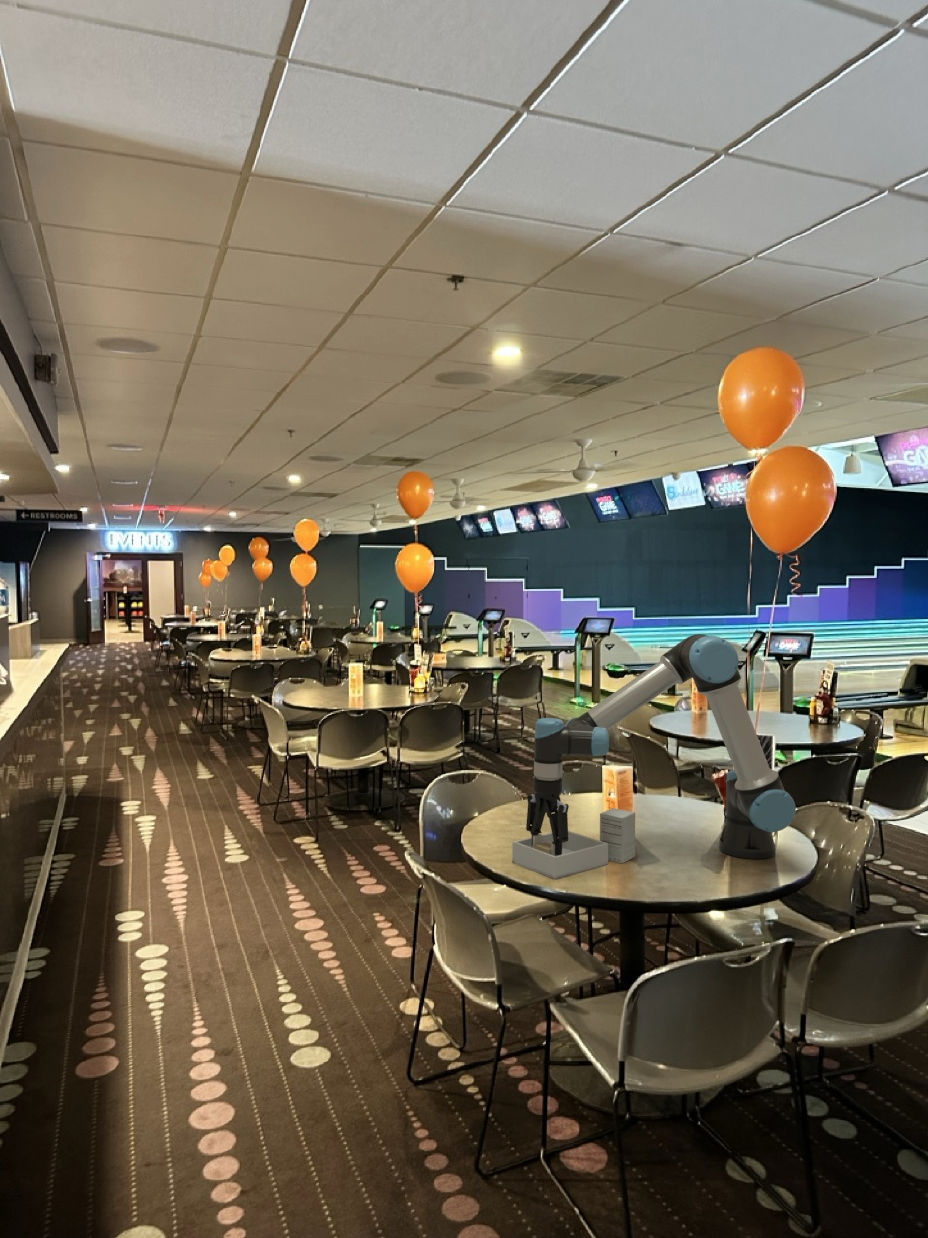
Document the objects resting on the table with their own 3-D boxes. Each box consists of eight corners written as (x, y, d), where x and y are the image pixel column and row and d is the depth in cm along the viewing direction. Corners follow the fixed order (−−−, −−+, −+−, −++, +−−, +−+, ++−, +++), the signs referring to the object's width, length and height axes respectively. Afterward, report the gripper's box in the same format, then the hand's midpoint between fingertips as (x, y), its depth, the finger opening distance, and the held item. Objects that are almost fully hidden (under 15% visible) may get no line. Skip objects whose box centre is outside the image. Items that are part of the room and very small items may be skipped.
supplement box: (612, 852, 233) (612, 807, 233) (635, 857, 229) (636, 812, 228) (598, 858, 228) (599, 812, 227) (622, 864, 223) (623, 817, 223)
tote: (608, 864, 223) (608, 843, 222) (555, 879, 211) (555, 857, 210) (564, 849, 236) (564, 829, 236) (512, 862, 224) (512, 842, 224)
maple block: (548, 868, 217) (548, 849, 217) (535, 863, 221) (535, 845, 221) (561, 864, 220) (562, 846, 220) (549, 860, 224) (549, 841, 224)
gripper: (584, 782, 214) (582, 870, 215) (533, 768, 230) (532, 850, 231) (563, 786, 210) (561, 876, 211) (513, 772, 225) (511, 855, 226)
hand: (546, 862), depth 221 cm, fingers open, 6 cm apart
